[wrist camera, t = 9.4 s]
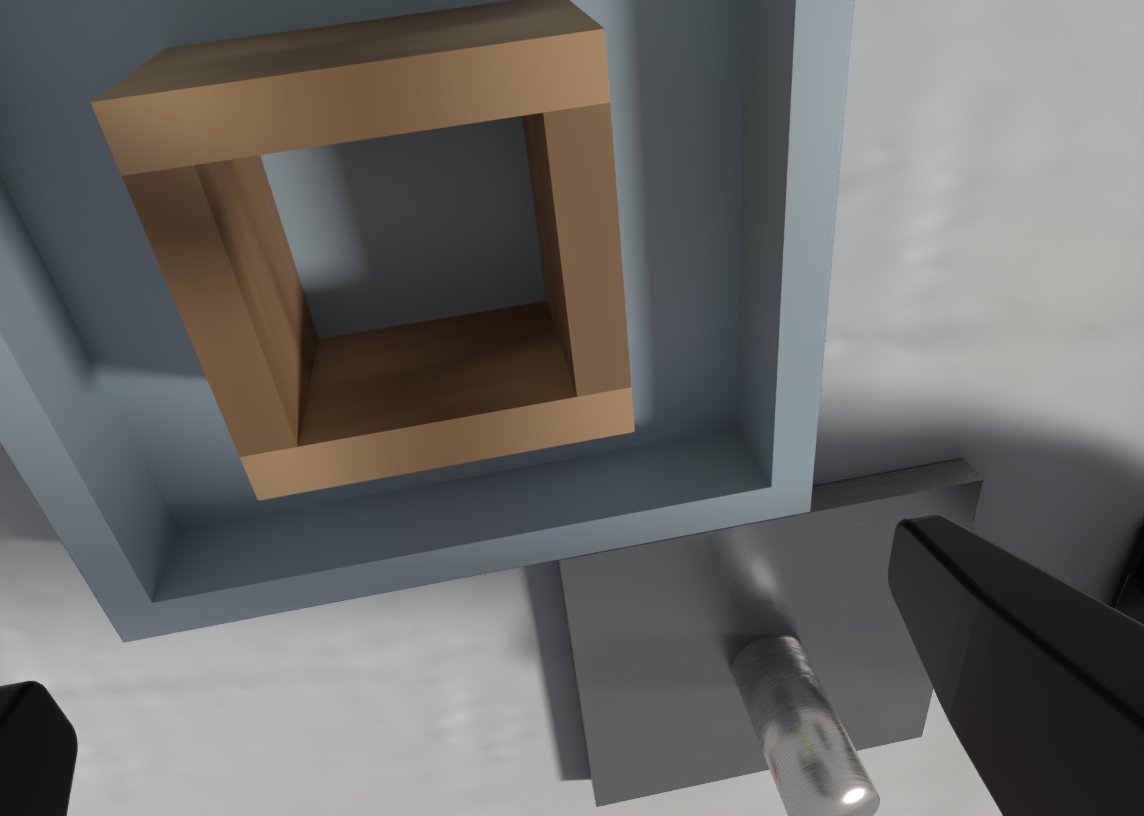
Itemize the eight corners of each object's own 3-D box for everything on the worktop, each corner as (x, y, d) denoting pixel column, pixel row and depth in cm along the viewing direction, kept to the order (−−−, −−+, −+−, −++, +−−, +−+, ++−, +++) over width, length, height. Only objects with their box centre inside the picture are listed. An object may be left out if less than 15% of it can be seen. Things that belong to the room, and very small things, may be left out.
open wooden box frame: (561, -8, 15) (604, 28, 11) (594, 332, 19) (634, 431, 15) (165, 48, 14) (90, 102, 11) (286, 385, 18) (258, 500, 15)
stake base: (962, 458, 24) (1109, 614, 19) (908, 713, 30) (1004, 877, 25) (554, 535, 23) (594, 721, 18) (591, 780, 29) (627, 964, 24)
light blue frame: (799, -365, 13) (890, -419, 11) (765, 439, 22) (809, 511, 20) (-270, -257, 12) (-451, -291, 9) (157, 550, 21) (123, 642, 18)
